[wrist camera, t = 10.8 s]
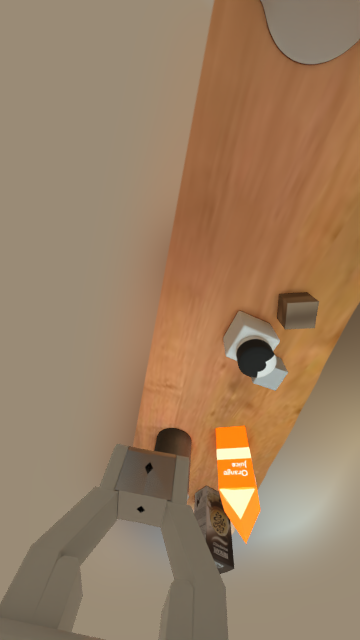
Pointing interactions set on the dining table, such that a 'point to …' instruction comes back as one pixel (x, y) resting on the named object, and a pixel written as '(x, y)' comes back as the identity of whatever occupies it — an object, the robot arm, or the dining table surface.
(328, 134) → the dining table surface
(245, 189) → the dining table surface
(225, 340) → the medicine bottle
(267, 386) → the grey painted block
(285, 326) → the walnut block
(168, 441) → the pillar candle
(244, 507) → the orange juice
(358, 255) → the dining table surface
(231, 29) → the dining table surface
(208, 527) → the coffee box
